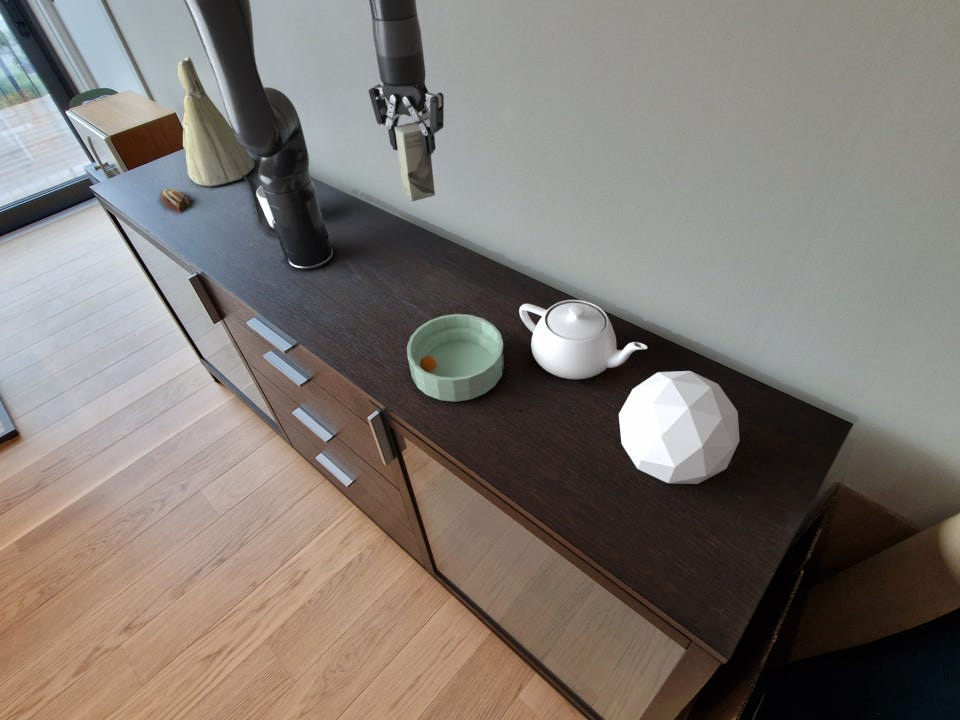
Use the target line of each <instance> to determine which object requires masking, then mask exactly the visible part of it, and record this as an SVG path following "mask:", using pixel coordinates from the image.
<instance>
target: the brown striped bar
mask: <svg viewBox="0 0 960 720" xmlns="http://www.w3.org/2000/svg"><path fill="white" fill-rule="evenodd" d="M160 198H161V201H162V203H163V204H164V205H165V207H166V208H167V209H169V210H172V211H175V212H178V213H182V212H184V211H185V210H186V209H189V207H190V204H191V199H190V198H188V197H187V196H186V195H184V194H182V193H181V192H180V191H177V190H176V189H169V188H164V189H163V191H162V193H161V195H160Z"/></svg>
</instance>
